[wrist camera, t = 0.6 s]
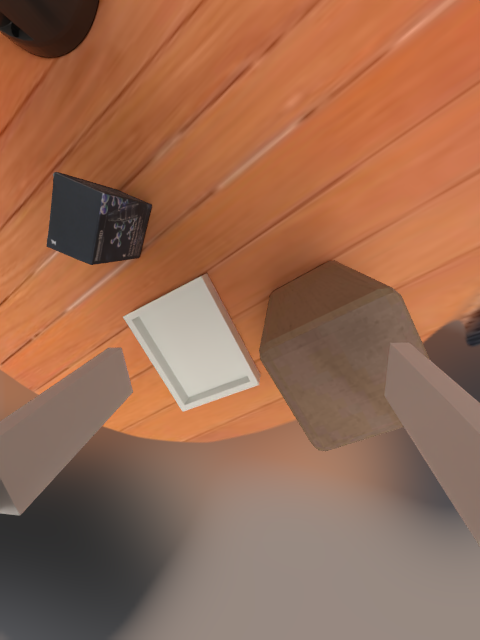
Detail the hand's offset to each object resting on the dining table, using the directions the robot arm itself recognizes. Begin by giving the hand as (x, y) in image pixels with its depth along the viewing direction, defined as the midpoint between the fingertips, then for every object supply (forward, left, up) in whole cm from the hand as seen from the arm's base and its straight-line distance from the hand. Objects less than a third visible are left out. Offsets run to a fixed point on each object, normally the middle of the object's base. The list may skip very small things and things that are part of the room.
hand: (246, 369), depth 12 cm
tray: (+4, -15, -25) cm, 29 cm away
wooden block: (+6, +4, -25) cm, 26 cm away
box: (-16, -15, -25) cm, 33 cm away
